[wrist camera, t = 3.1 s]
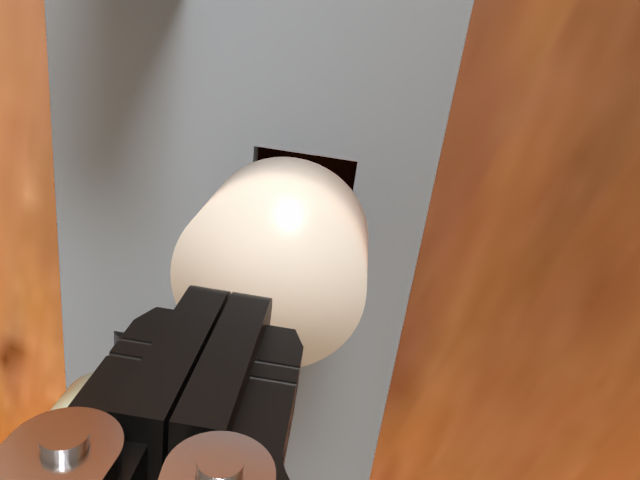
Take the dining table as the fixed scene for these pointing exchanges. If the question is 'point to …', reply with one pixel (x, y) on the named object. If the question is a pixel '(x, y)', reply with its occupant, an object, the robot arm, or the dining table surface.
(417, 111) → the console
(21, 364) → the dining table surface
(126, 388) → the robot arm
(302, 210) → the button ivory
